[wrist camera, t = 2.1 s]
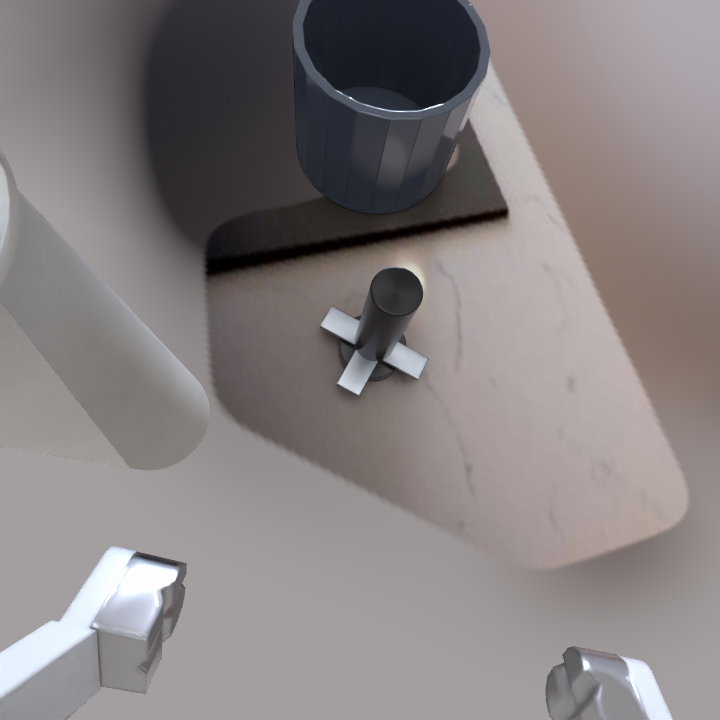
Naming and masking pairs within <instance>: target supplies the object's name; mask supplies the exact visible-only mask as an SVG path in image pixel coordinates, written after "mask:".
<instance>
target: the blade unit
mask: <svg viewBox="0 0 720 720" xmlns="http://www.w3.org/2000/svg"><path fill="white" fill-rule="evenodd" d="M422 298H423V289H422V285H421V283H420V281H419V279H418V278H417V277H416V276H415V275H414V274H413V273H412V272H410V271H409V270H407V269H404V268H400V267H390V268H386V269H384V270H382V271H380V272H379V273H378V274H377V275H376V276H375V277H374V278H373V280H372V283H371V286H370V289H369V292H368V296H367V299H366V302H365V306H364V309H363V312H362V315H361V316H359V317H356V318H353V317H351V316H349V315H348V314H346V313H344V312H342V311H340V310H338V309H337V308H335V307H333V306H331V308H330V310H329V311H328V313H327V315H326V316H325V318H324V319H323V321H322V323H321V324H320V328H322V329H323V330H325V331H327V332H329V333H331V334H333V335H334V336H336V337H338V338H340V343H339V356H340V359H341V362H342V364H343V366H344V367H345V370H344V372H343V373H342V375H341V377H340V379H339V380H338V382H337V385H338V386H339V387H341V388H343V389H345V390H347V391H349V392H350V393H352V394H354V395H356V396H358V397H359V395H360V393H361V392H362V390H363V388H364V386H365V384H366V383H367V381H380V380H383V379H386V378H388V377H389V376H391V375H392V374H393V373H394V372H395V371H396V370H398V371H400V372H402V373H404V374H406V375H408V376H409V377H411V378H413V379H415V380H418V379H419V377H420V375H421V373H422V371H423V369H424V367H425V365H426V363H427V361H428V360H429V359H428V358H427V357H425V356H423V355H421V354H419V353H417V352H416V351H414V350H412V349H410V348H408V347H406V341H405V337H404V335H403V333H404V331H405V329H406V328H407V326H408V324H409V323H410V321H411V319H412V317H413V316H414V314H415V312H416V311H417V309H418V307H419V306H420V304H421V302H422Z"/></svg>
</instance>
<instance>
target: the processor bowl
mask: <svg viewBox="0 0 720 720" xmlns="http://www.w3.org/2000/svg"><path fill="white" fill-rule="evenodd" d="M292 29H293V59H294V61H293V62H294V94H295V127H296V147H297V155H298V158H299V162H300V165H301V167H302V169H303V172H304V173H305V175H306V177H307V178H308V180H309V181H310V182H311V183H312V185H313V186H314V187H315V188H316V189H317V190H318V191H319V192H320V193H321V194H322V195H324V196H325V197H327V198H328V199H329V200H331V201H333V202H334V203H336V204H338V205H340V206H342V207H345V208H347V209H350V210H353V211H357V212H362V213H368V214H388V213H394V212H399V211H402V210H405V209H408V208H410V207H412V206H414V205H416V204H418V203H419V202H421V201H422V200H424V199H425V198H426V197H427V196H428V195H430V194H431V192H432V191H433V190H434V189H435V188H436V186H437V185H438V183H439V181H440V180H441V177H442V175H443V174H444V172H445V170H446V168H447V166H448V163H449V161H450V159H451V156H452V154H453V152H454V149H455V147H456V145H457V142H458V140H459V137H460V135H461V133H462V130H463V128H464V126H465V123H466V121H467V119H468V116H469V114H470V112H471V109H472V107H473V105H474V102H475V100H476V97H477V95H478V93H479V90H480V88H481V86H482V83H483V81H484V79H485V76H486V73H487V68H488V62H489V57H490V47H489V42H488V37H487V33H486V28H485V26H484V24H483V22H482V20H481V19H480V17H479V15H478V14H477V12H476V10H475V9H474V7H473V5H471V3H470V2H469V1H468V0H300V3H299V6H298V8H297V11H296V14H295V17H294V21H293V25H292Z"/></svg>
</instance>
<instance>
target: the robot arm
mask: <svg viewBox="0 0 720 720" xmlns="http://www.w3.org/2000/svg"><path fill="white" fill-rule="evenodd" d="M185 575H186V563H184V562H179V561H175V560H171V559H166V558H162V557H158V556H153V555H149V554H145V553H140V552H137V551H133V550H128V549H123V548H119V547H114V546H112V547H111V548H110V549H109V550H108V551H107V552H105V554H104V555H103V557H102V558H101V560H100V561H99V562H98V564H97V566H96V567H95V569H94V570H93V572H92V573H91V575H90V576H89V578H88V579H87V581H86V582H85V584H84V585H83V587H82V588H81V590H80V591H79V593H78V594H77V596H76V597H75V599H74V600H73V602H72V603H71V605H70V606H69V608H68V609H67V611H66V612H65V614H64V615H63V617H62V618H61V620H60V621H59V622H57V621H50V622H48V623H47V624H45V625H43V626H42V627H40V628H39V629H37V630H35V631H34V632H33V633H31V634H29V635H27V636H26V637H24V638H23V639H21V640H20V641H18V642H16V643H15V644H13V645H12V646H10V647H9V648H7V649H5V650H4V651H2V652H1V653H0V720H67V719H68V718H69V717H70V716H71V715H72V714H74V713H75V712H76V711H77V710H78V709H79V708H80V707H81V706H83V705H84V704H85V703H86V702H87V701H88V700H89V699H90V698H92V697H93V696H94V695H95V694H96V693H97V692H98V691H99V690H100V686H101V687H107V688H113V689H119V690H124V691H130V692H136V693H141V694H146V692H147V690H148V688H149V685H150V683H151V681H152V678H153V676H154V674H155V672H156V670H157V667H158V665H159V663H160V660H161V655H162V643H163V642H164V641H165V640H166V639H168V638H169V637H170V636H171V635H172V633H173V630H174V628H175V625H176V623H177V620H178V618H179V614H180V611H181V608H182V604H183V600H184V595H185V587H184V586H183V584H182V582H183V580H184V577H185ZM563 659H564V663H562V664H560V665H557V666H555V667H553V669H552V670H551V672H550V674H549V675H548V677H547V683H546V703H547V707H548V711H549V716H550V717H551V719H552V720H673V719H672V717H671V714H670V712H669V710H668V708H667V705H666V703H665V701H664V698H663V697H662V694H661V692H660V690H659V687H658V685H657V683H656V680H655V678H654V676H653V674H652V672H651V669H650V668H649V667H648V665H647V664H646V663H645V662H643V661H640V660H636V659H631V658H626V657H620V656H617V655H615V654H610V653H605V652H600V651H595V650H590V649H585V648H580V647H574V646H573V647H570V648H567V650H566V651H565V652H564V654H563Z"/></svg>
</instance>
